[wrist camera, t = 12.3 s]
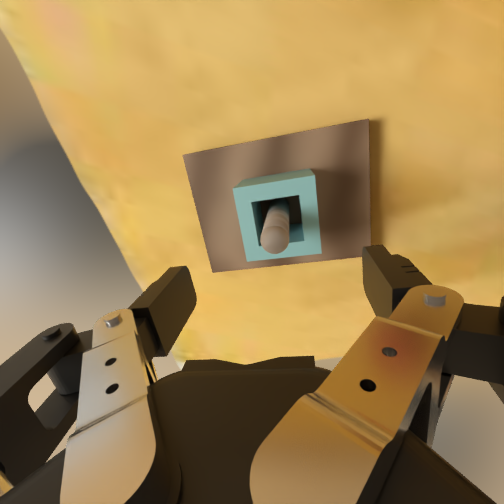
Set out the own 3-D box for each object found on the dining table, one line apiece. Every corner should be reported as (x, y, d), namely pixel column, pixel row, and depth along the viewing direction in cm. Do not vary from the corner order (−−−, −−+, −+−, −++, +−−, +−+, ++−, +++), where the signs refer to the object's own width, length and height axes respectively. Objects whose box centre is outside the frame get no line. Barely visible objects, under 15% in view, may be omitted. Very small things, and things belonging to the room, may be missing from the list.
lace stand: (363, 120, 23) (427, 102, 12) (366, 249, 27) (416, 318, 17) (188, 154, 26) (119, 163, 15) (216, 266, 30) (177, 334, 19)
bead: (309, 168, 23) (314, 175, 19) (315, 233, 25) (321, 253, 21) (242, 179, 24) (232, 188, 20) (254, 240, 27) (247, 261, 22)
